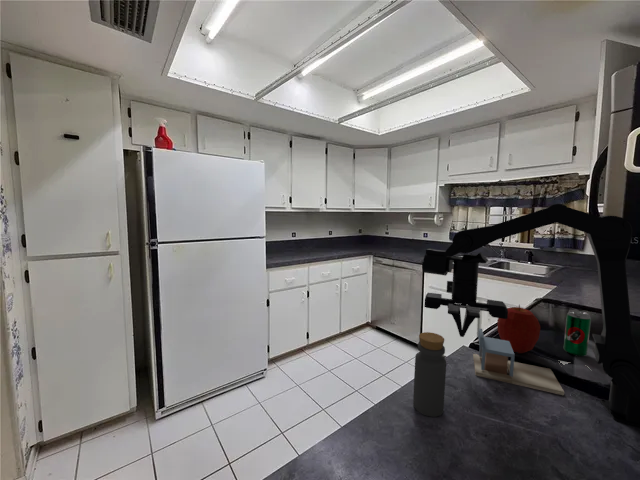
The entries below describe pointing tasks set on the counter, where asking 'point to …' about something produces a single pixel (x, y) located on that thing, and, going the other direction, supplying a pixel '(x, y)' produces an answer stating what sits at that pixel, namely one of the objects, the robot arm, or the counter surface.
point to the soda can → (577, 332)
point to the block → (496, 363)
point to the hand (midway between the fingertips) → (461, 336)
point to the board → (523, 376)
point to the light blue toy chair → (495, 349)
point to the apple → (519, 329)
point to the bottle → (430, 375)
